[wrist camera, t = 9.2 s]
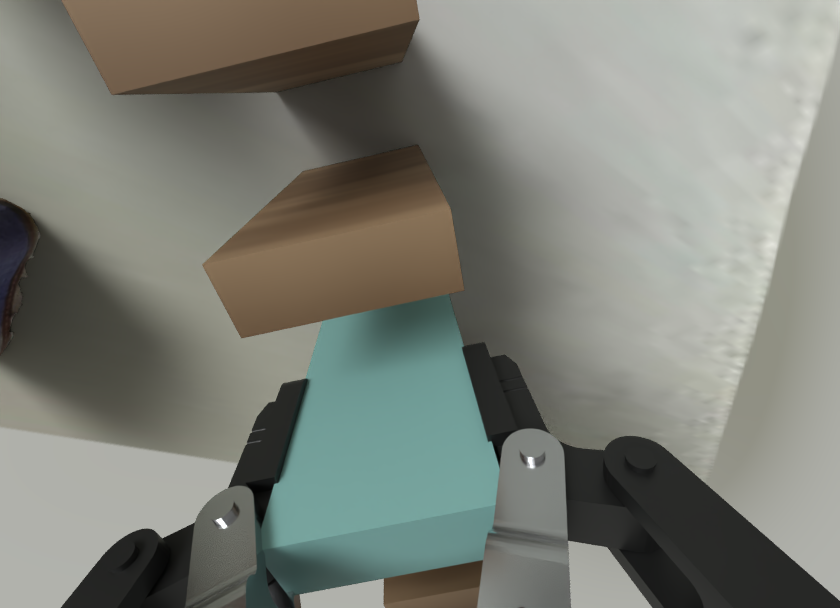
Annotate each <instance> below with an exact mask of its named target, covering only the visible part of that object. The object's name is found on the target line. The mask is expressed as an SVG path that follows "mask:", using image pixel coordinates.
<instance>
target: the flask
mask: <svg viewBox="0 0 840 608" xmlns="http://www.w3.org/2000/svg"><path fill="white" fill-rule="evenodd" d="M34 223H35V222H34V220H33V219H32V217H31V215H30V213H27V212H26V211H25V210H24V209H22V208H20V207H19V206H17V205H15V204H13V203H11V202H9V201H7V200H5V199H3V198H0V355H1V354H2V352H3V351H4V349H5V348H6V347H7V346H8V344H9V341H10V340H11V339H12V338H13V335H14V333H13V332H9V330H10V325H11V324H12V321H13V319H12V318H13V317H14V316H15V313H18V311H19V307H20V306H21V305H22V303H21V300H22V298H23V296H22V294H21V293H22V292H20V290H21V289H20V288H19V285H18V283H19V281H20V279H21V278H24V277H28V276H27V275H26V270H25V268H24V267H25V264H26V262H27V261H28V260H29V259H30V258H34V257H33V256H32V255H33V251H34V250H35V248H36V245H37V242H38V240H39V239H40V232H38V231H39V230H38V228H37V226H36V225H35V224H34Z"/></svg>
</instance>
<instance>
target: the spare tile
mask: <svg viewBox="0 0 840 608" xmlns="http://www.w3.org/2000/svg"><path fill="white" fill-rule="evenodd" d="M463 346H464V345H463V341H462V338H461V335H460V331H459V328H458V324H457V321H456V317H455V314H454V311H453V307H452V304H451V300H450V297H449V294H446V295H441V296H436V297H432V298H427V299H422V300H418V301H413V302H408V303H404V304H399V305H394V306H390V307H385V308H380V309H376V310H371V311H366V312H362V313H357V314H352V315H348V316H343V317H338V318H334V319H329V320H324V321H323V322H322V325H321V328H320V332H319V335H318V338H317V342H316V345H315V349H314V352H313V355H312V359H311V362H310V365H309V369H308V372H307V376H306V379H308V381H307V384H306V388H305V391H304V395H303V398H302V402H301V405H300V409H299V412H298V416H297V419H296V423H295V426H294V430H293V433H292V437H291V440H290V444H289V447H288V451H287V454H286V458H285V461H284V465H283V468H282V472H281V475H280V479H279V482H278V483H277V484H274V487H273V490H272V494H271V497H270V500H269V504H268V507H267V510H266V514H265V517H264V521H263V524H262V527H261V535H262V550H263V551H264V553H265V560H266V567H267V569H268V570H269V571H270V573H271V574H272V575H273V576H274V578H275V579H276V580H277V582H278V583H279V584H280V586H281V587H282V588H283V589H284V591H285V592H291V591H293V592H294V593H295V595H298V594H304V593H309V592H314V591H319V590H325V589H330V588H335V587H341V586H346V585H352V584H357V583H362V582H367V581H373V580H378V579H384V578H389V577H394V576H400V575H405V574H410V573H416V572H421V571H426V570H432V569H437V568H443V567H448V566H453V565H459V564H464V563H469V562H475V561H480V560H483V558H484V550H485V543H486V538H487V534H488V532H489V530H492V527H493V522H494V513H495V505H496V496H497V488H498V479H499V470H500V468H499V465H498V461H497V458H496V455H495V451H494V448H493V444H492V441H491V442H488V440H487V437H486V433H485V430H484V426H483V423H482V419H481V415H480V412H479V408H478V405H477V401H476V398H475V394H474V390H473V387H472V383H471V380H470V376H469V373H468V369H467V365H466V362H465V358H464V355H463V351H462V348H461V347H463Z"/></svg>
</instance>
